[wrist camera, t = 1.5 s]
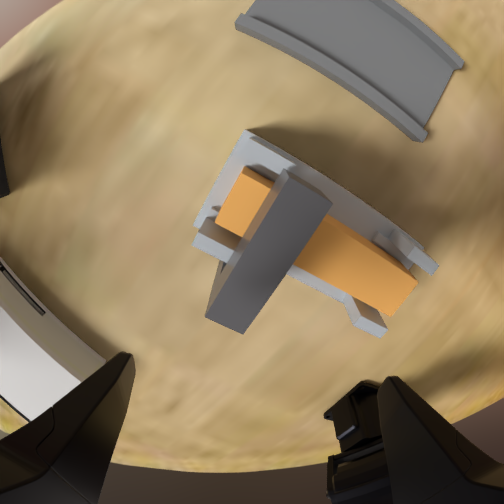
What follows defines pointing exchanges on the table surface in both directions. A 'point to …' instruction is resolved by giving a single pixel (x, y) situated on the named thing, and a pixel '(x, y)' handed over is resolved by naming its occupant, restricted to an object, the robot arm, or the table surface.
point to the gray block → (266, 251)
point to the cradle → (343, 209)
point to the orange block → (327, 249)
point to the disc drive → (37, 351)
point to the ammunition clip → (3, 176)
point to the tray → (362, 52)
